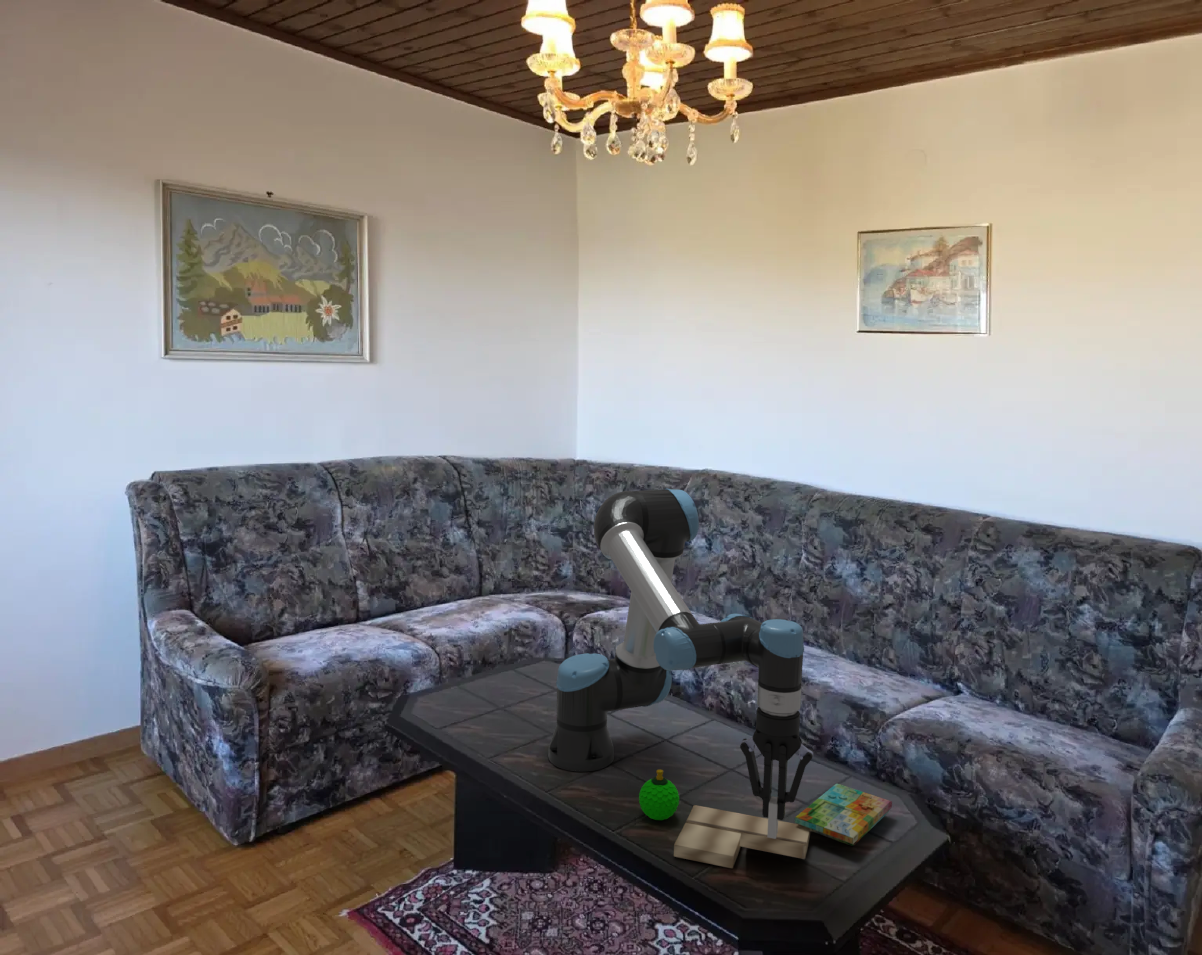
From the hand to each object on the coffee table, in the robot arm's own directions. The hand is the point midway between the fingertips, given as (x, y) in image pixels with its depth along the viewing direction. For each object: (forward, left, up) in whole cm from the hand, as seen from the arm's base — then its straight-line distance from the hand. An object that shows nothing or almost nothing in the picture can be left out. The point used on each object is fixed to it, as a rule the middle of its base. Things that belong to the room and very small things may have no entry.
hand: (772, 834), depth 159 cm
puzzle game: (+11, +21, -7) cm, 24 cm away
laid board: (-6, +11, -7) cm, 14 cm away
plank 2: (0, +2, -5) cm, 5 cm away
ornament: (-24, +11, -8) cm, 28 cm away
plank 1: (-12, +3, -7) cm, 14 cm away
